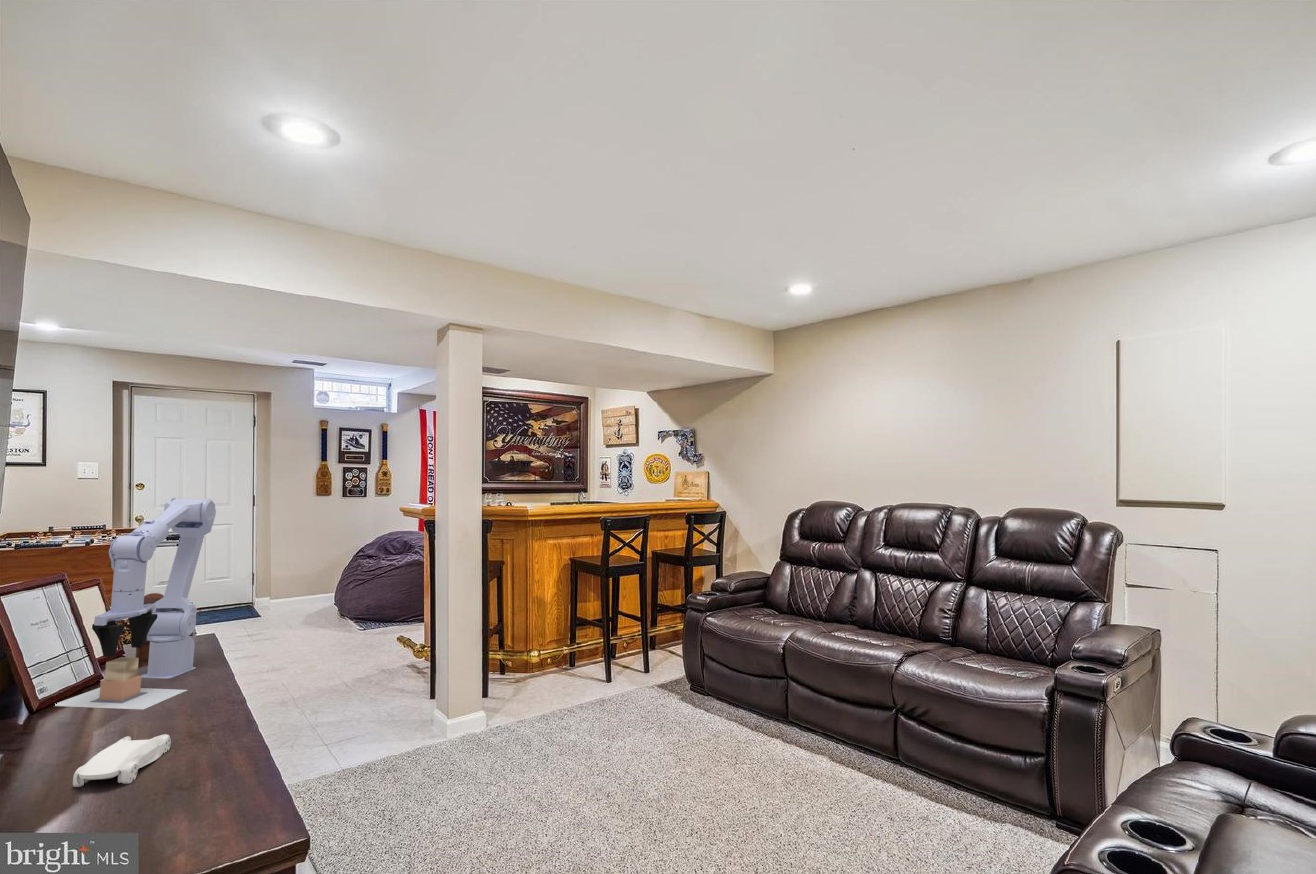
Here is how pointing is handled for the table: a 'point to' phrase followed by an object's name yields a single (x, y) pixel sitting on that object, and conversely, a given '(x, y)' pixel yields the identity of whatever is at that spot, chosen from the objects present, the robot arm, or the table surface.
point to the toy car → (122, 760)
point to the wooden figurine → (144, 651)
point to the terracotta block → (120, 689)
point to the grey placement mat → (136, 702)
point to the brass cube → (121, 669)
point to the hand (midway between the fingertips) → (123, 651)
